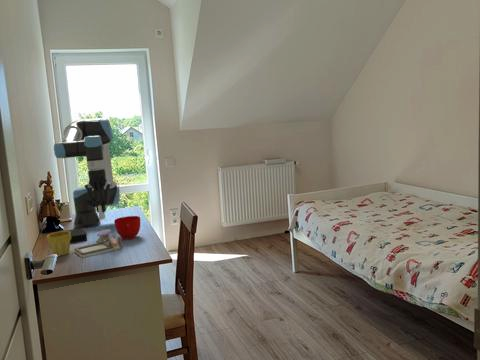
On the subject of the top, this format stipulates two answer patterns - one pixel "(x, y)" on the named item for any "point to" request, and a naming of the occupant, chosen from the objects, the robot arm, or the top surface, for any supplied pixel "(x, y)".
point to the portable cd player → (77, 235)
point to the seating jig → (97, 248)
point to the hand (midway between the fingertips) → (102, 218)
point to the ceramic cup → (128, 226)
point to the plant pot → (60, 242)
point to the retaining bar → (112, 241)
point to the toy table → (103, 235)
